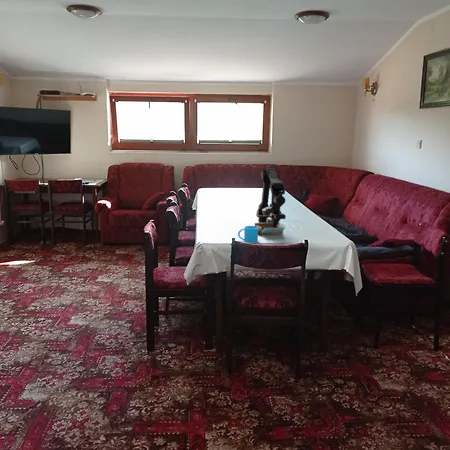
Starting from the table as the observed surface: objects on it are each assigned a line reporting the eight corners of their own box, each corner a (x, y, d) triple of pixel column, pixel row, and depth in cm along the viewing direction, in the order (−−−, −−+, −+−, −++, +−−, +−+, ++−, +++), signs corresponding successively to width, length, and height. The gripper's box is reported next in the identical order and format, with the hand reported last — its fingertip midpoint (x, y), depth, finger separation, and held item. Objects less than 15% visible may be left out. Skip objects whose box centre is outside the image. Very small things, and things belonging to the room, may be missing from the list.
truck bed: (252, 231, 272) (253, 222, 271) (276, 230, 276) (276, 222, 275) (258, 235, 261) (259, 226, 259) (283, 234, 265) (283, 226, 264)
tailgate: (260, 231, 261) (263, 228, 255) (281, 231, 264) (285, 227, 258) (260, 233, 260) (264, 229, 254) (281, 232, 264) (285, 228, 258)
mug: (256, 239, 252) (257, 225, 250) (258, 242, 244) (259, 229, 242) (236, 238, 251) (237, 225, 249) (238, 242, 243) (239, 228, 241)
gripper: (258, 200, 260) (257, 224, 263) (269, 205, 242) (267, 231, 245) (275, 200, 262) (273, 224, 266) (286, 205, 245) (285, 231, 248)
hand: (274, 227), depth 256 cm, fingers closed
